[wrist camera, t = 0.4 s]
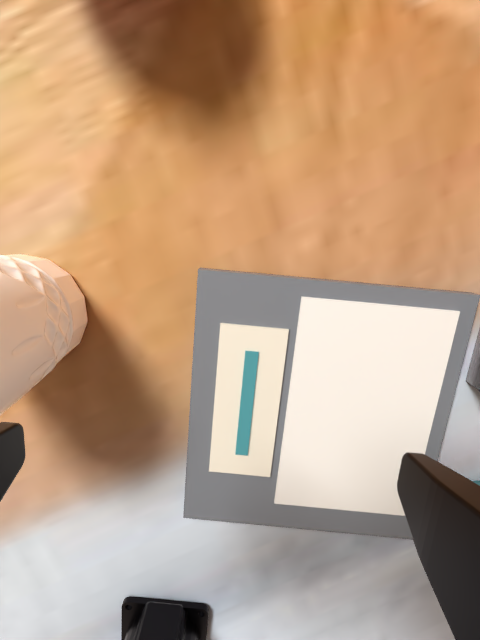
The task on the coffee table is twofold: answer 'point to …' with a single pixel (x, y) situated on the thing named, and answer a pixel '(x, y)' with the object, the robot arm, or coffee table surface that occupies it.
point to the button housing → (475, 366)
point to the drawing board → (317, 397)
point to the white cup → (35, 322)
